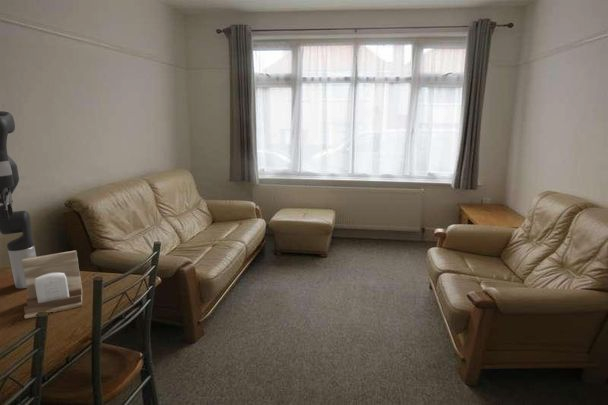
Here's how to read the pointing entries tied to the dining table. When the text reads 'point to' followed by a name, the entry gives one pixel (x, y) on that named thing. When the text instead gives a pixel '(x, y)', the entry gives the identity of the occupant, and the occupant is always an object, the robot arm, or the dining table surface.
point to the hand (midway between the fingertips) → (7, 218)
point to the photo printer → (51, 287)
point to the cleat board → (52, 264)
